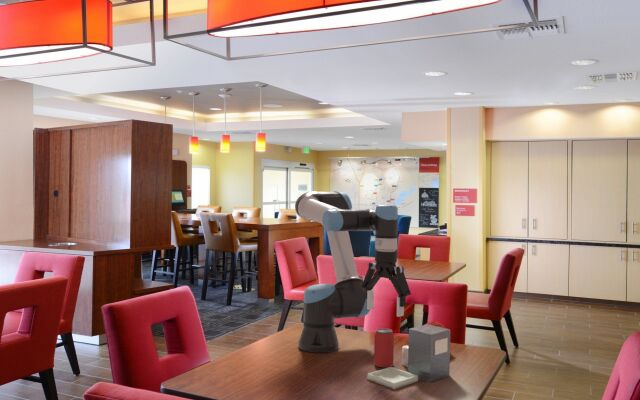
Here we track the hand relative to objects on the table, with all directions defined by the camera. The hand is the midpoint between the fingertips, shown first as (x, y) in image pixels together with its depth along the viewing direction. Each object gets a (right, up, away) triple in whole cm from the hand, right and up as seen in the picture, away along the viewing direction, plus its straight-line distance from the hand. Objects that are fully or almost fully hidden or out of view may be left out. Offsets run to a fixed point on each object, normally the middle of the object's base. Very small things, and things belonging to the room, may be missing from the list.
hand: (384, 312), depth 192 cm
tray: (+1, -19, -14) cm, 23 cm away
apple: (+20, -18, +19) cm, 33 cm away
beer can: (0, -18, +1) cm, 18 cm away
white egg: (+9, -18, +2) cm, 20 cm away
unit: (+13, -19, -9) cm, 24 cm away
